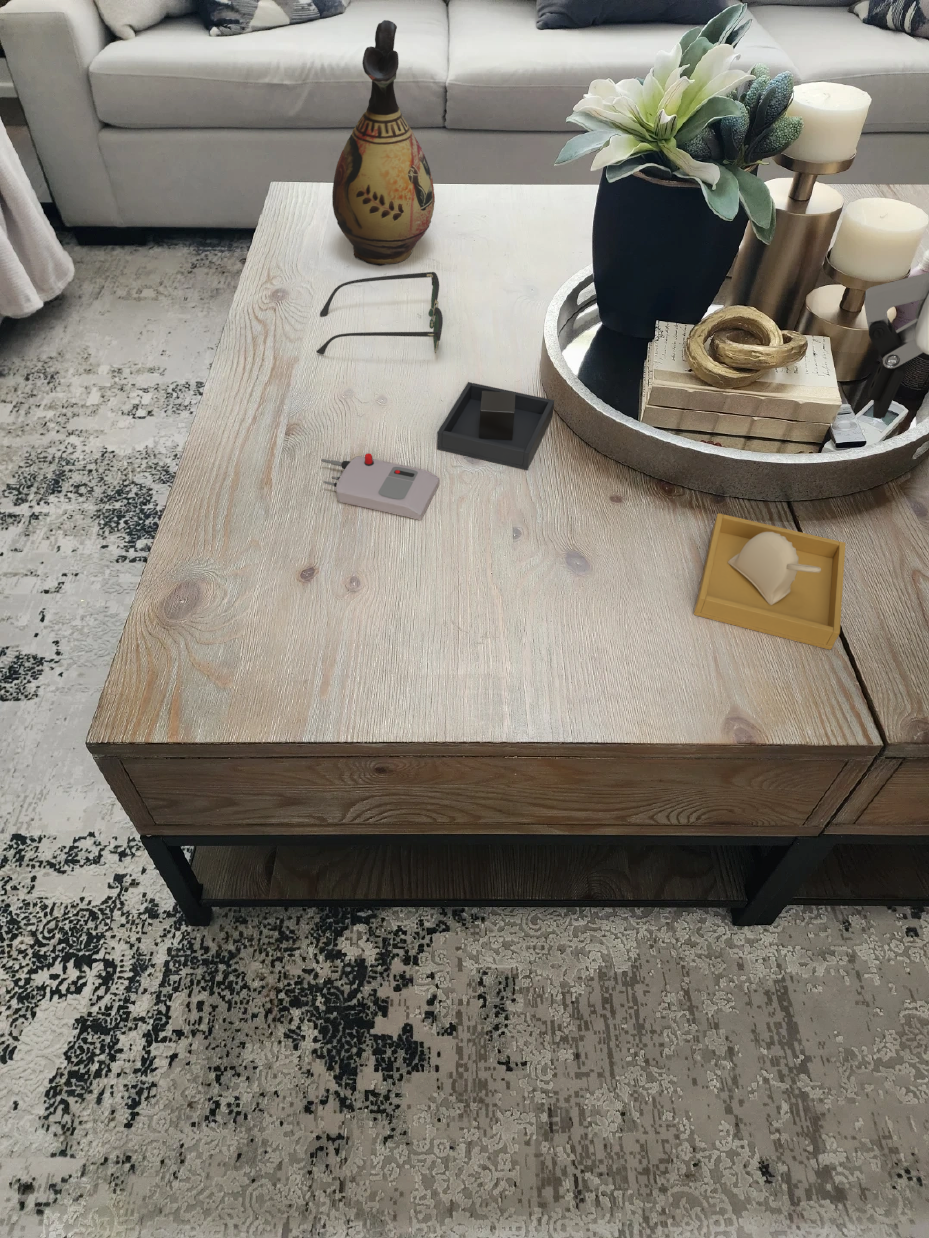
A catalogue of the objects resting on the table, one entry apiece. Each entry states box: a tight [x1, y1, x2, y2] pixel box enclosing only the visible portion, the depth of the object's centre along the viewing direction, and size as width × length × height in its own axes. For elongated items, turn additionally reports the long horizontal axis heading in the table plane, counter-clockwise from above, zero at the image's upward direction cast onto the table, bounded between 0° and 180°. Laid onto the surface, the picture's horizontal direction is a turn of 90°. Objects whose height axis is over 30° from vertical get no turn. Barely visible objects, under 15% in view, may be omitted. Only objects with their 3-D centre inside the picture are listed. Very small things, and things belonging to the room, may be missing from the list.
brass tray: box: [693, 513, 846, 651], centre depth 86 cm, size 13×13×2 cm
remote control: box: [320, 452, 454, 521], centre depth 94 cm, size 7×16×3 cm, turn 73°
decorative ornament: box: [728, 532, 821, 605], centre depth 84 cm, size 4×8×5 cm, turn 26°
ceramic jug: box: [331, 19, 436, 266], centre depth 123 cm, size 17×15×30 cm
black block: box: [479, 391, 515, 440], centre depth 101 cm, size 4×4×4 cm
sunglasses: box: [316, 271, 444, 355], centre depth 116 cm, size 16×17×5 cm
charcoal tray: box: [436, 381, 555, 471], centre depth 102 cm, size 11×11×2 cm
